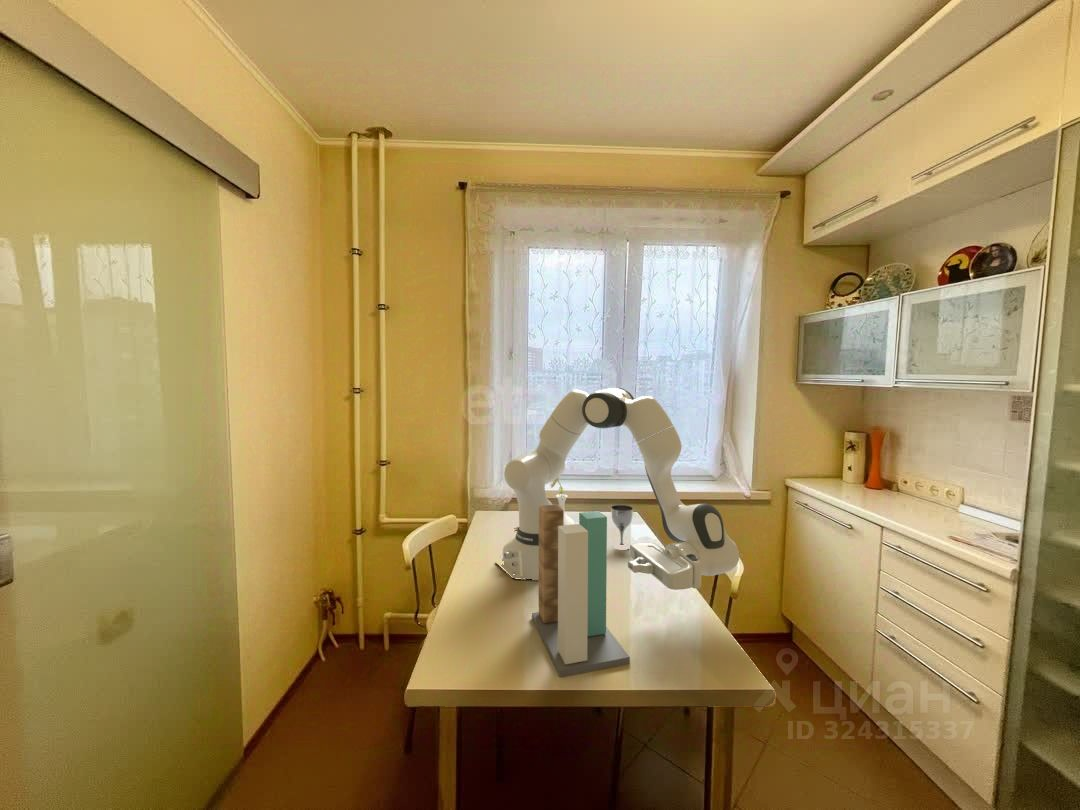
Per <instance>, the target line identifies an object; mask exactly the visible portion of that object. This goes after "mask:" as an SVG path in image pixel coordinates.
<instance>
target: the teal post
mask: <svg viewBox="0 0 1080 810" xmlns="http://www.w3.org/2000/svg"><path fill="white" fill-rule="evenodd" d="M578 513H579V514H578V515H579V519H578V522H579V523H578V524H580V525H581V526H582V527H584V528H585V529H586V530H587V531H588V630H587V637H588V636H594V635H600V634H606V627H607V575H608V574H607V567H608V566H607V565H608V562H607V560H608V559H607V557H608V554H607V552H608V548H607V547H608V546H607V544H608V542H607V541H608V536H607V535H608V518H607V516H606V515H604V514H603V513H602V512H601V511H599V510H596V511H595V510H594V511H584V512H578Z"/></svg>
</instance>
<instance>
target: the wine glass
mask: <svg viewBox="0 0 1080 810" xmlns="http://www.w3.org/2000/svg"><path fill="white" fill-rule="evenodd" d="M610 509H611V510H610V513H611V514H610V515H611V519H612V522H613V524H614V525H615V526H616V528H617V529H618V530H619V535H620V542H619V543H620V545H624V544H625V543H624V542H623V541H624V540H623V539H624V532H625V530H627V528H628V527H629V526H630V524H631V523H632V520H633V515H634V509H633V506H631V505H628V504H614V505H611V508H610ZM623 543H624V544H623Z"/></svg>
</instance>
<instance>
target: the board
mask: <svg viewBox="0 0 1080 810" xmlns="http://www.w3.org/2000/svg"><path fill="white" fill-rule="evenodd" d="M531 619H533V620H532V621H533V624H534V626H535V628H536V630H537V632H538V635H539V636H540V638H541V641H542V643H543V644H544V647H545V649H546V651H547V653H548V656H549V657H550V660H551V662H552V664H553V666H554V668H555V670H556V673H557V675H558V677H559V678H563V677H569V676H574V675H579V674H583V673H589V672H594V671H600V670H605V669H609V668H614V667H620V666H625V665H630V664H631V662H630V661H631V657H630V655H629V654H628V653H627V651H625V648H623V646H622V645H621V644H620V642H619V641H618V640H617V639H616V637H615V636H614V634H613V633H612V632H611V631H610V629H609V628H608V627H607V626H606V634H600V635H594V636H588V637H587V661H582V662H576V663H571V664H566V665H565V663H564V661H563V659H562V657H561V655H560V654H559V652H558V621H557V622H551V623H544V622H543V621H542V619H541V617H540V615H539V611H537V612H536V611H535V612H532V613H531Z"/></svg>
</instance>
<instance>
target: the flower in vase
mask: <svg viewBox="0 0 1080 810" xmlns="http://www.w3.org/2000/svg"><path fill="white" fill-rule="evenodd" d="M559 478H560V476H559V477H558V478H557V479H556V480H554V481H553V482H551V484H550V488H554V487H555V486H556V484H557V482H558V484H559V486H560V487H559V488H558V491H559V493H558V494H556V495H555V497H556V498H557V501H558V506H559V507H561V508H562V509H563V510H564V525H575V523H576V522H575V520H574V519H572V518H571V517H570V516H568V515H567V513H566V511H565V503H566V499H567V498H568V495H567V494H563V493H564V492H565V489H564V488H563V487H562V485H561V483H560V481H559Z"/></svg>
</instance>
